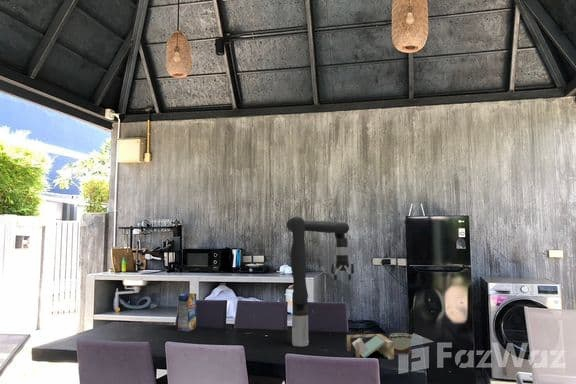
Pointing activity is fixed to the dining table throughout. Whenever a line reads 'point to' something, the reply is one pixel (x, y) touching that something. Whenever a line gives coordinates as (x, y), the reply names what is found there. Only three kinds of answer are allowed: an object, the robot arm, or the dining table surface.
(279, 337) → the dining table surface
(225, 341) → the dining table surface
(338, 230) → the robot arm
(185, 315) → the juice carton
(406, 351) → the food container
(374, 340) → the trapdoor
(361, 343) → the beige block
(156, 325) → the dining table surface
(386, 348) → the trapdoor frame
